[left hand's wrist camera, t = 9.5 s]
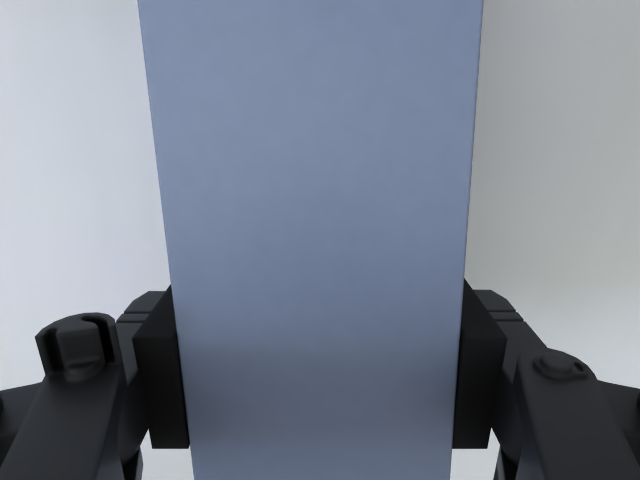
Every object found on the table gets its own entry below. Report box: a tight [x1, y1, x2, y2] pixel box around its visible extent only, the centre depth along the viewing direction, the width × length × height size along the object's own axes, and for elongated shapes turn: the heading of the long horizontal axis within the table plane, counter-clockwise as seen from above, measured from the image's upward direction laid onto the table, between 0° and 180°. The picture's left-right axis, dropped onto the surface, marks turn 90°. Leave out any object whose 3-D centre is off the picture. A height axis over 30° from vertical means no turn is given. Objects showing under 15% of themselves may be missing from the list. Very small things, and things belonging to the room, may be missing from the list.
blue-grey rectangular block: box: [138, 0, 483, 480], centre depth 12 cm, size 16×5×10 cm, turn 1°
